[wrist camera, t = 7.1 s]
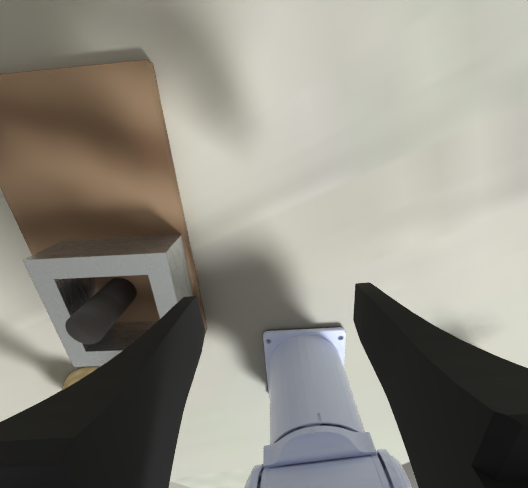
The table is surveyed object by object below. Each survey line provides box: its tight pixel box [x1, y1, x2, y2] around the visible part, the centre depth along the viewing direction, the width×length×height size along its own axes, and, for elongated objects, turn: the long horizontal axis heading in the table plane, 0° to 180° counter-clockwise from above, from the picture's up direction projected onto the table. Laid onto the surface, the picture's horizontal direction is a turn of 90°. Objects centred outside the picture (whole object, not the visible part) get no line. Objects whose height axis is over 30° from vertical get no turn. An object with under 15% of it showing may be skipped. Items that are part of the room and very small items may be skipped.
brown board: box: [0, 60, 207, 344], centre depth 19 cm, size 22×13×6 cm, turn 4°
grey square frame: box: [23, 234, 194, 367], centre depth 21 cm, size 10×10×4 cm
